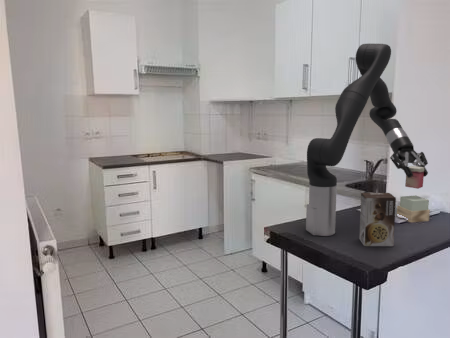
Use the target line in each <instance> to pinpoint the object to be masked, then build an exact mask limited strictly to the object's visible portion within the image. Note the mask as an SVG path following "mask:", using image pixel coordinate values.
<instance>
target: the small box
mask: <svg viewBox="0 0 450 338" xmlns="http://www.w3.org/2000/svg"><path fill="white" fill-rule="evenodd" d="M408 167H409V168H410V170H411V171H412V173H413V176H412V177H410V178H408V176H406V175H405V187H406V188H412V189H421V188H423V186H424V178H425V177H424V167H417V166H414V165H410V166H408Z"/></svg>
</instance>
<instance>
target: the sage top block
mask: <svg viewBox="0 0 450 338" xmlns="http://www.w3.org/2000/svg"><path fill="white" fill-rule="evenodd" d="M429 203H430V200H429V199H427V198H425V197H421V196H419V195H405V196H400V197H399V206H400V207H402V208H405V209H407V210H410V211H422V210H429V205H430V204H429Z"/></svg>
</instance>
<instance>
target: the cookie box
mask: <svg viewBox="0 0 450 338" xmlns="http://www.w3.org/2000/svg"><path fill="white" fill-rule="evenodd" d="M396 201H397V197H396V196H394V194H392V193H390V192H361V193H360V211H359V212H360V215H359V216H360V218H359V237H358V238H359V241H360V242H361V244H362V245H363V247H394V245H395V243H394V241H395V223H396V222H395V221H396V220H395V219H396Z"/></svg>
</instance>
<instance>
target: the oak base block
mask: <svg viewBox="0 0 450 338" xmlns="http://www.w3.org/2000/svg"><path fill="white" fill-rule="evenodd" d="M430 212H431V210H430V209H428V210H422V211H410V210H407V209H405V208H402V207H400V205H397V206H396V215H397V214H399V215H402V216H404V217H406V218H408V221H407V222H409V223H421V222H429V221H430Z"/></svg>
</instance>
